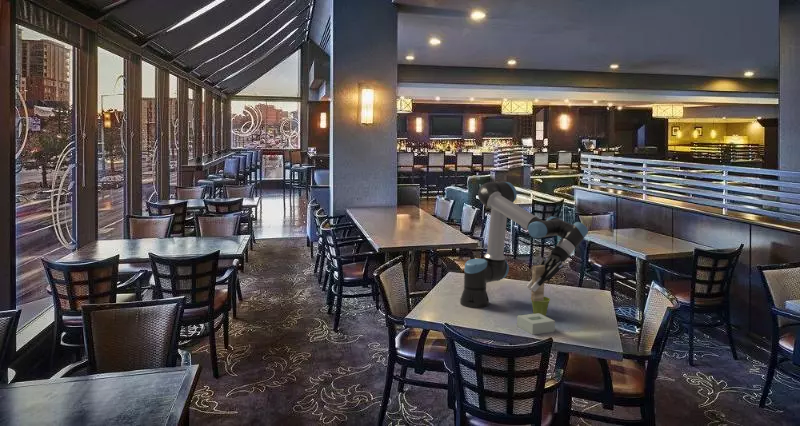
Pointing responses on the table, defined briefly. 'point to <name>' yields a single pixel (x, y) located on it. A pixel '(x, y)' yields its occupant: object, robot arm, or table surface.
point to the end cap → (536, 323)
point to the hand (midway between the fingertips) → (530, 288)
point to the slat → (536, 273)
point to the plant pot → (541, 306)
